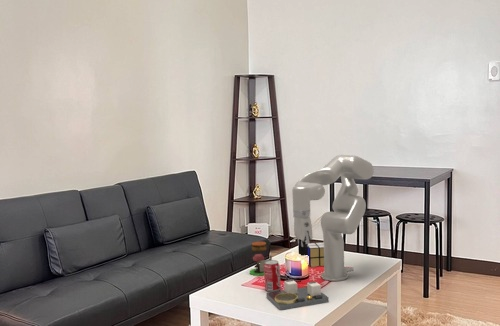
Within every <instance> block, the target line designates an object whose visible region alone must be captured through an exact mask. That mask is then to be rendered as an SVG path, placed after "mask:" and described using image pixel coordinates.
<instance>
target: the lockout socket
mask: <svg viewBox="0 0 500 326" xmlns="http://www.w3.org/2000/svg"><path fill="white" fill-rule="evenodd" d="M283 296H291V297H295V299H293V300H289V301H283V300H279V299H277V298H279V297H283ZM297 299H298V296H297V295H296V294H293V293H281V294H278V295H276V296H275V301H276V302H277V303H281V304H291V303H295V302H297Z"/></svg>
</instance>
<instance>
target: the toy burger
mask: <svg viewBox="0 0 500 326" xmlns="http://www.w3.org/2000/svg"><path fill="white" fill-rule="evenodd" d="M251 251H253V252H255V254H254V255H253V256H252V260H253V262H255V263H256V264H255V265H254V268H253V269H250V270H249V274H250V275H252V276H257V277H259V276H261V277H262V276H264V264H265V261H268V260H273V257H272V255H269V258H267V259H265V257H264V255H263V254H262V252H266V251H267V243H266V242H265V241H253V242H252V243H251ZM260 252H261V253H260Z"/></svg>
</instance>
